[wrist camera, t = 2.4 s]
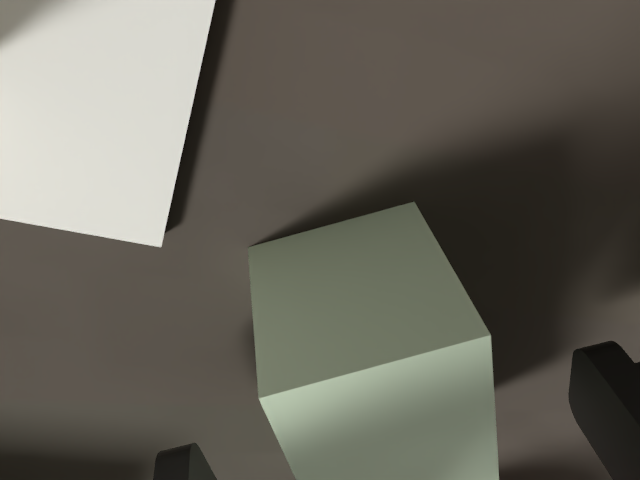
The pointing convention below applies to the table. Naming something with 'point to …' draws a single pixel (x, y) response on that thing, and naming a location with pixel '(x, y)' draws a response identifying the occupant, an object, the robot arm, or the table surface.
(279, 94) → the table surface
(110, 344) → the table surface
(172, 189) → the mat
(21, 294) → the table surface
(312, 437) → the sage brick
